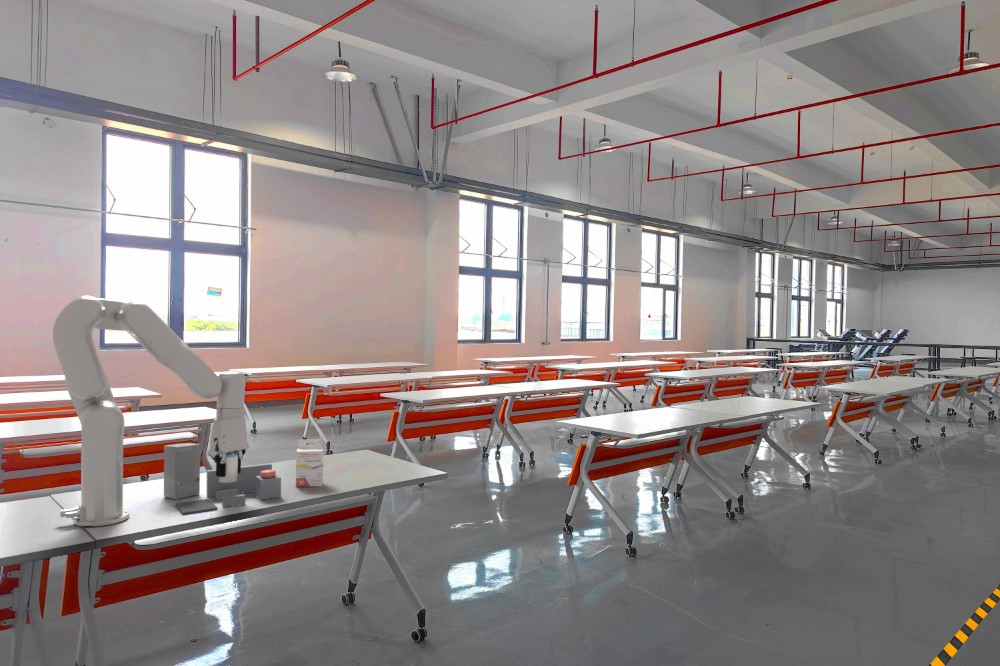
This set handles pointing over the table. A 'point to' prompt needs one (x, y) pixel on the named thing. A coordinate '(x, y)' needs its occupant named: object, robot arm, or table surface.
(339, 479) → the table surface
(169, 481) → the skincare box
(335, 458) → the table surface
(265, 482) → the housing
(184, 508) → the mat
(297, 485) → the ink cartridge box
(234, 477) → the block
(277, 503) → the table surface
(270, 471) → the plunger
